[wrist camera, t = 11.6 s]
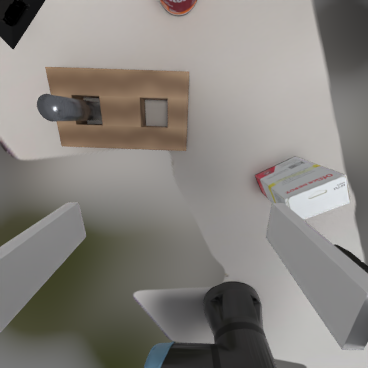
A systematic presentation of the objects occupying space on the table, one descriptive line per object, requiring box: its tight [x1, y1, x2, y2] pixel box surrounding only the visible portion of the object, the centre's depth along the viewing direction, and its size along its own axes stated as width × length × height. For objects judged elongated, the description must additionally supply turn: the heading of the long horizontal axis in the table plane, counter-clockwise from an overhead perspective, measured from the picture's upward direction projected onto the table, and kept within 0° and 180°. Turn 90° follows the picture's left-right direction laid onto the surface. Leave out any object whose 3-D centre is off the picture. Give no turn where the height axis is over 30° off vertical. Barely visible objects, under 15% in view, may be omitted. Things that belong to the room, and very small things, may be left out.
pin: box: [37, 94, 102, 121], centre depth 27 cm, size 3×3×12 cm
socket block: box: [45, 67, 189, 151], centre depth 31 cm, size 12×22×4 cm, turn 88°
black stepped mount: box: [0, 0, 45, 49], centre depth 26 cm, size 12×7×5 cm, turn 131°
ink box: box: [255, 157, 350, 220], centre depth 30 cm, size 9×5×12 cm, turn 117°
